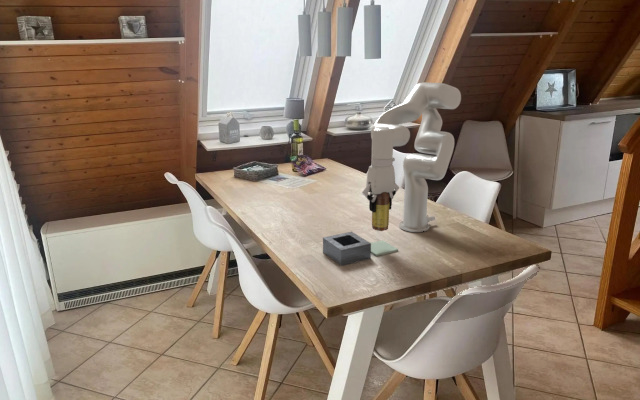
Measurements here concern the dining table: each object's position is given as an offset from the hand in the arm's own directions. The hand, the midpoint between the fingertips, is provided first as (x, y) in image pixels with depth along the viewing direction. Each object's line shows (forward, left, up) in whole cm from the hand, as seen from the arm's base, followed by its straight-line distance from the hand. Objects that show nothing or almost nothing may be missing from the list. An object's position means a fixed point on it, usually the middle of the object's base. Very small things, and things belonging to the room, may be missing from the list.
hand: (380, 209), depth 180 cm
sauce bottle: (0, 0, -8) cm, 8 cm away
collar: (+14, -1, -16) cm, 21 cm away
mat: (0, 0, -16) cm, 16 cm away
